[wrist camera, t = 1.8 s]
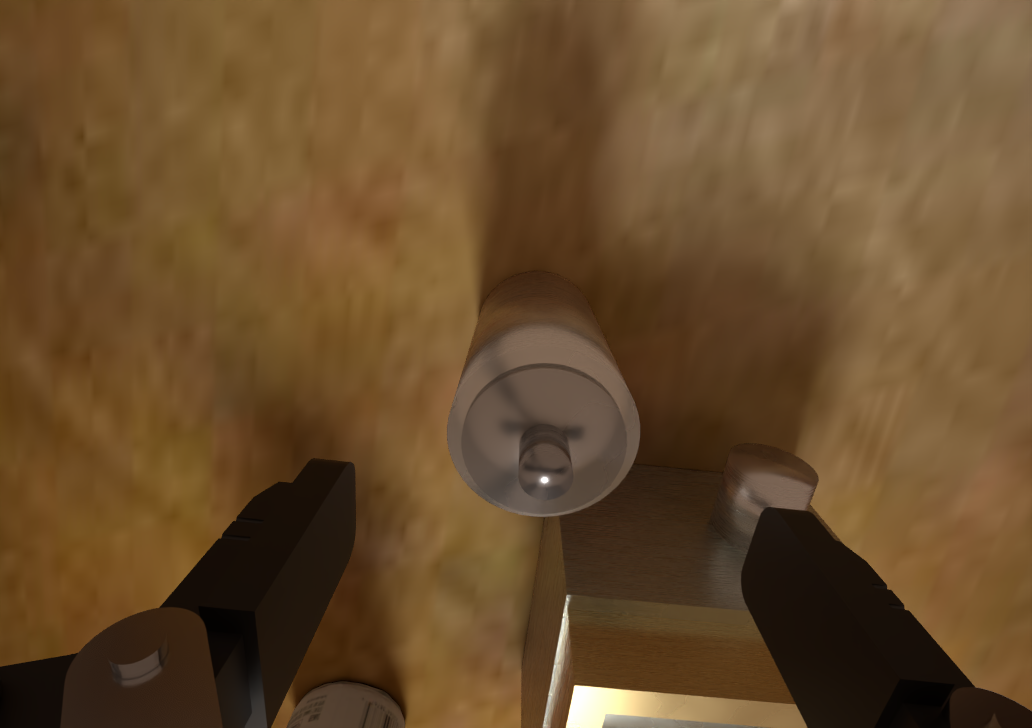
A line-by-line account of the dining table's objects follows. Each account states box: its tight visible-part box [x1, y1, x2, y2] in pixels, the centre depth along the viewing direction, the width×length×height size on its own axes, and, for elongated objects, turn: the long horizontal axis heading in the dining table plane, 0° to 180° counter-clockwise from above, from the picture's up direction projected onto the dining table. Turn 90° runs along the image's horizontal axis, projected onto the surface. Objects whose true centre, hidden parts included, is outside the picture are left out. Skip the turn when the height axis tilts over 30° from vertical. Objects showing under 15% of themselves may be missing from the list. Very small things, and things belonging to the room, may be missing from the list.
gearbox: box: [521, 443, 843, 728], centre depth 19 cm, size 17×11×13 cm, turn 174°
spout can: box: [447, 271, 640, 517], centre depth 16 cm, size 5×5×11 cm
